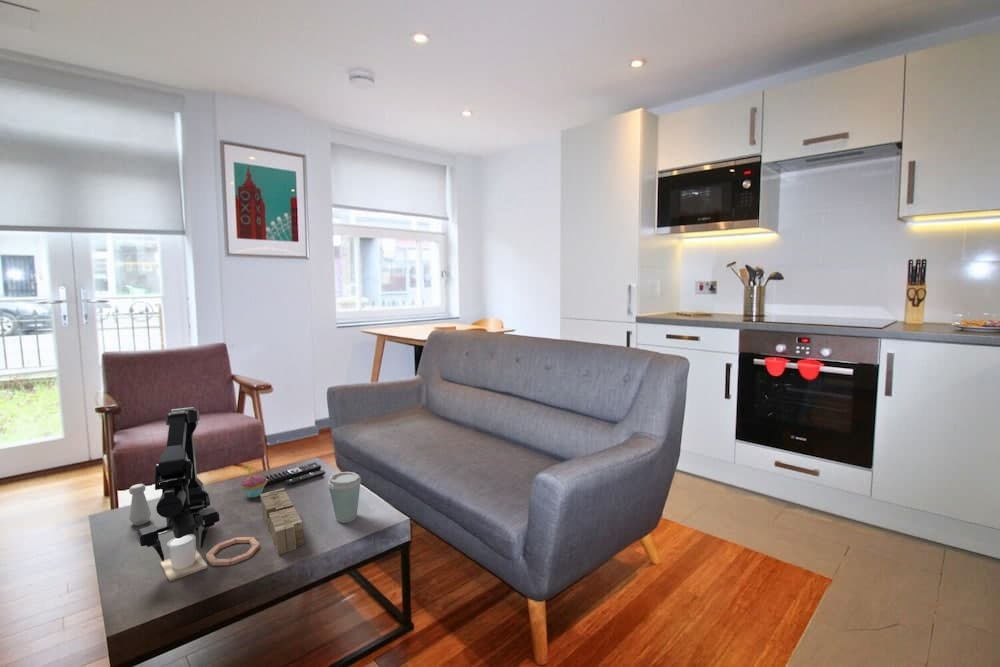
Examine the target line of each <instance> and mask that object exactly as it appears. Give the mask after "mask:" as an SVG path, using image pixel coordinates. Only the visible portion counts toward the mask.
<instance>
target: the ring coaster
mask: <svg viewBox="0 0 1000 667" xmlns="http://www.w3.org/2000/svg"><path fill="white" fill-rule="evenodd" d="M234 544H250V545H251V547H250V548H249V549H248V551H246V552H245V553H243V554H239V555H237V556H233V557H232V558H216V557H215V555H216V554H217V553H218V552H219V550H221V549H223V548H226V547H228V546H232V545H234ZM258 549H260V542H259V541H258V540H256V539H255V537H253V536H243V537H242V536H239V537H238V536H237V537H233V538H231V539H227V540H225V541H222V542H219V543H217V544H215V545H214V546H213V547H211V549H210V550H209V551H208V552H206V554H205V559H207V562H208V563H209V564H210V566H232V565H235V564H237V563H239V562H242V561H244V560H247V559H249V558H251V557H253V555H255V553H256V552H257V550H258Z"/></svg>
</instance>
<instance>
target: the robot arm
mask: <svg viewBox="0 0 1000 667" xmlns="http://www.w3.org/2000/svg"><path fill="white" fill-rule="evenodd" d="M164 415H165V426H168V432H167V440H166V441H167V442H166V448H165V450H164V451H163V452H162V453H161V454H160V455H159V458H158V463H156V465H155V475H154V476H155V477H154V481H155V482H154V491H159V490H161V495H160V498H159V499H158V502H157V504H156V510H155V511H156V513H157V514H158V515H159V516H160V517H162V518H165V520H166V525H163V526H161V527H157V528H156V526H155V524H151V525H149V526H145V527H141V528H139V529H138V530H137V531H136V536H137V541H138V544H139V546H141V547H147V548H150V547H152V548H153V549H154V550H155V551H156V553H157V554H158V557H160V559H161V561H164V560H165V555H164V552H163V549H162V545H161V540H160V537H159V536H162V535H164V534H168V533H170V532H173V535H174V538H182V537H183V536H186V535H189V534H190V535H191V534H193V535H194V534H195V533H196V531H197V530H198V543H199V547H200V548H201V549H202V548H203V546H204V543H205V541H206V540H205V539H206V537H207V534H208V531H209V530H210V528H212V527H213V526H215V523H218V522H219V521H220V520H221V519H220V513H219V511H218V510H217V509H216V508H215V507H213V506H211V499H210V496H209V493H208V492H207V490H206V489H204V488H205V487H204V483H203V482H202V481H201V479H199V477H198V474H197V462H196V451H195V449H196V448H195V440H194V432H195V431H196V428H197V427H198V425H199V421H200V418H201V417H200V415H201V414H200V410H199V409H196V408H195V406H190V407H181V408H173V409H171V411H170V412H167V413H165V414H164Z"/></svg>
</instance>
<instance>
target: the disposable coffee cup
mask: <svg viewBox="0 0 1000 667" xmlns="http://www.w3.org/2000/svg"><path fill="white" fill-rule="evenodd" d="M328 478H329V479H328V480H327V487H328V488H329V494H330V498H331V502H332V506H333V507H332V508H333V512H334V515H335V519H336V521H337V522H339V523H340V524H341V523H343V524H346V523H351V522H353V521H355V520H356V518H357V516H358V508H359V499H360V489H361V488H360V487H361V482H362V479H361V478H362V477H361V475H359V474H358V473H356V472H352V471H339V472H336V473H333V474H332V475H330V476H329V477H328Z"/></svg>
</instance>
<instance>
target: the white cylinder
mask: <svg viewBox="0 0 1000 667" xmlns="http://www.w3.org/2000/svg"><path fill="white" fill-rule="evenodd" d="M196 541H197V536H196V535H195V534H194V533H193V534H191V535H190V534H189V535H186V536H183V537H182V538H175V537H173V538H172V539H170V540H169V541H168V542H167V543H166V546H167V551H168V555H169V558H170V560H171V565H172V568H173V569H183V568H186V567H189V566H191V565H192V564H193V563H194V562H195V560H196V549H197V544H196V543H197V542H196Z"/></svg>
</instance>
